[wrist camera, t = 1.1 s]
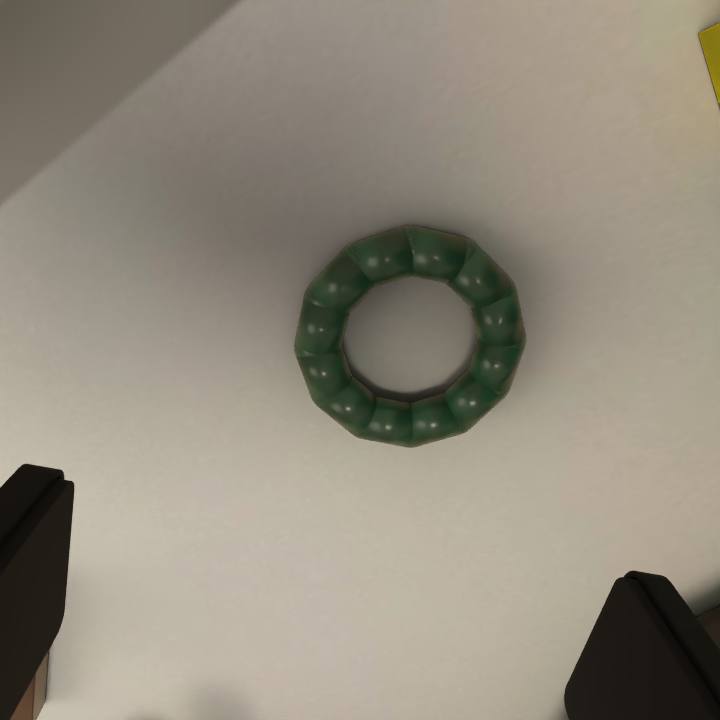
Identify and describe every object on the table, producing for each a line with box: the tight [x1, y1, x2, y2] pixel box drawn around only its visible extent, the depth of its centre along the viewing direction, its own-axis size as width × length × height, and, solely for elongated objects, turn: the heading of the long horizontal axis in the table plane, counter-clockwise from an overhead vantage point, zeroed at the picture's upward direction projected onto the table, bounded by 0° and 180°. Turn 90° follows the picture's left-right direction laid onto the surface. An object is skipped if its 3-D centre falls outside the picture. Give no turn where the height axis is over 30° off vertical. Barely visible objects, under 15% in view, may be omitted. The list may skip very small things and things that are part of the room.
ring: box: [294, 225, 526, 448], centre depth 24 cm, size 9×9×2 cm
